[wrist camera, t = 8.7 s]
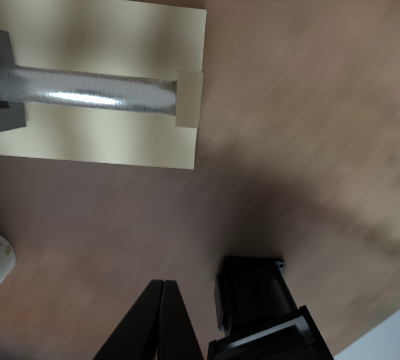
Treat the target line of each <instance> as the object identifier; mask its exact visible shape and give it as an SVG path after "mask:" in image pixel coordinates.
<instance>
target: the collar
mask: <svg viewBox="0 0 400 360" xmlns="http://www.w3.org/2000/svg"><path fill="white" fill-rule="evenodd" d="M0 64H9V65H15V63H14V58H13V52H12V47H11V42H10V37H9V32H7V31H4V30H1V29H0ZM23 127H27V125H26V120H25V115H24V110H23V104H22V102H10V101H0V132H4V131H9V130H13V129H18V128H23Z"/></svg>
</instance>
